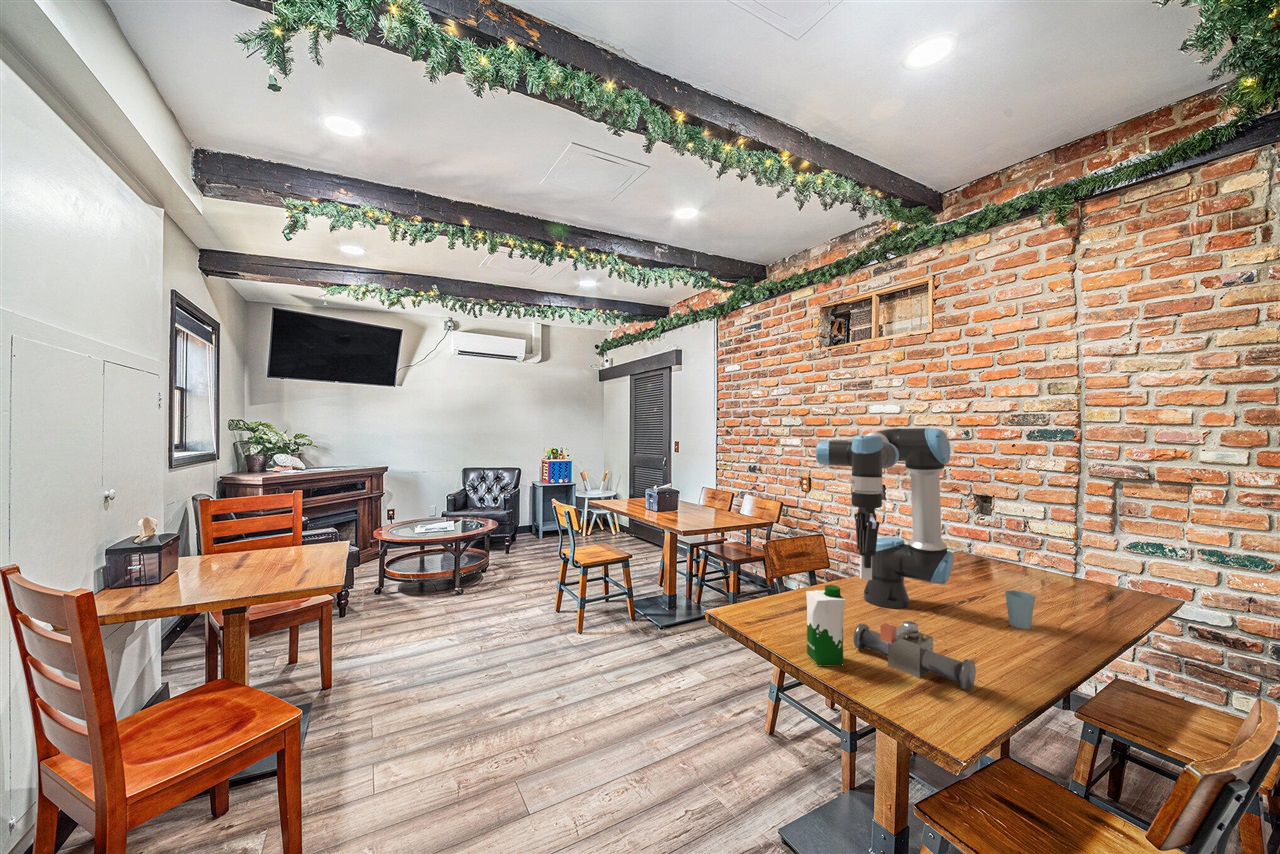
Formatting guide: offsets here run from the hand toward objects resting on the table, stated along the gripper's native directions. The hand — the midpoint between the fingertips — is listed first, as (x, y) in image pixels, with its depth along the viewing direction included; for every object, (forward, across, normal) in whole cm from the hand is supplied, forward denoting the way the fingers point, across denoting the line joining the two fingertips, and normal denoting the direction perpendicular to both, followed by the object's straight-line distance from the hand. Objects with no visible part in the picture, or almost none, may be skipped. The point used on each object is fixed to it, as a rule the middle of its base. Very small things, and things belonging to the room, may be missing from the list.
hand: (865, 578), depth 130 cm
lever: (+13, +4, +7) cm, 16 cm away
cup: (+23, -35, +59) cm, 72 cm away
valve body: (+23, 0, +12) cm, 26 cm away
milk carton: (+24, -1, -10) cm, 26 cm away
